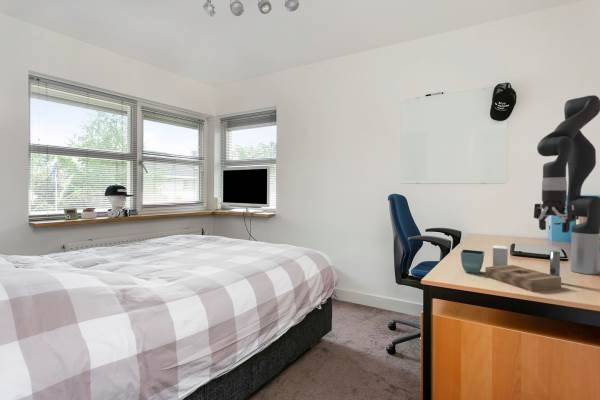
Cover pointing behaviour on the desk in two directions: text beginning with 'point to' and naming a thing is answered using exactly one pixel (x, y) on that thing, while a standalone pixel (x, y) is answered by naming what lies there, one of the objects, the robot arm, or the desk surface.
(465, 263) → the flower pot
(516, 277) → the hole block
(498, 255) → the small box
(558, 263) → the peg
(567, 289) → the desk surface
